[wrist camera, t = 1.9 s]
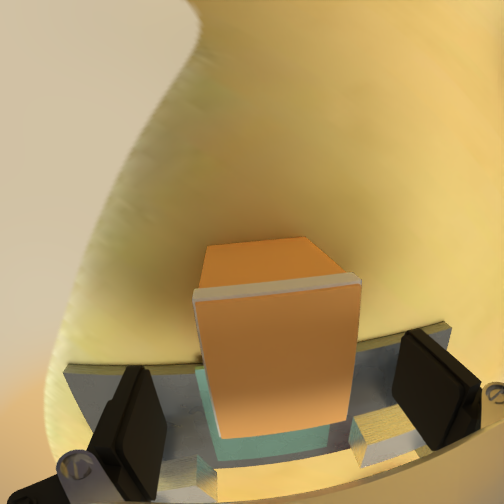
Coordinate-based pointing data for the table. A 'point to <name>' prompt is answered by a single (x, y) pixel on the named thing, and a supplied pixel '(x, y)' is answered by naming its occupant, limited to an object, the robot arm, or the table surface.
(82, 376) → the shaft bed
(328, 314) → the block
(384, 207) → the table surface
